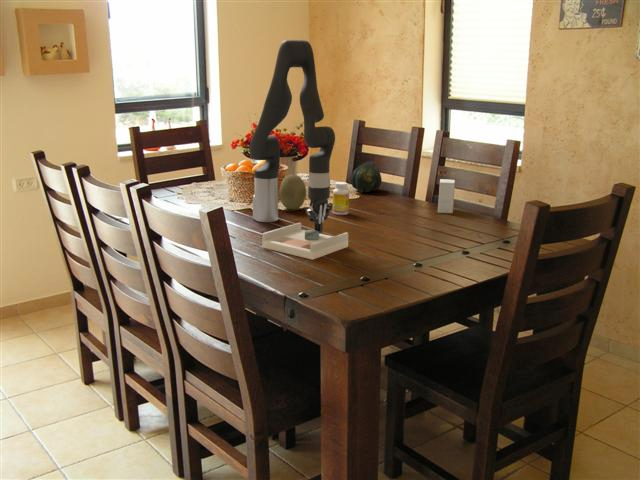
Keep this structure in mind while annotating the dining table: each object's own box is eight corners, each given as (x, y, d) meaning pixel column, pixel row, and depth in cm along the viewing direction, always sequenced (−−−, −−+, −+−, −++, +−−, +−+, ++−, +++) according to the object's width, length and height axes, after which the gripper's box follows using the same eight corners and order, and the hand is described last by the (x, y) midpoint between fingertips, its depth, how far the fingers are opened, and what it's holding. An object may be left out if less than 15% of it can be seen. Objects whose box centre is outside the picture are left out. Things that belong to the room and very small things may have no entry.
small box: (452, 213, 298) (455, 183, 295) (437, 212, 299) (439, 182, 296) (453, 209, 306) (455, 179, 302) (438, 208, 307) (440, 178, 303)
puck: (301, 238, 248) (301, 231, 247) (310, 235, 252) (310, 229, 251) (313, 241, 245) (313, 234, 244) (321, 238, 249) (322, 231, 248)
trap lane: (262, 247, 246) (262, 233, 244) (299, 235, 261) (299, 222, 260) (312, 259, 233) (312, 244, 232) (348, 246, 248) (348, 232, 247)
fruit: (311, 208, 303) (311, 173, 299) (296, 213, 294) (296, 177, 290) (289, 204, 309) (289, 170, 305) (273, 209, 300) (273, 174, 296)
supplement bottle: (347, 215, 292) (347, 185, 288) (331, 214, 293) (331, 184, 289) (349, 212, 298) (350, 181, 294) (334, 211, 299) (334, 181, 296)
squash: (343, 181, 333) (365, 158, 329) (347, 177, 348) (368, 155, 343) (365, 202, 334) (387, 180, 330) (368, 197, 348) (389, 175, 344)
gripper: (322, 180, 254) (321, 227, 259) (298, 186, 244) (298, 235, 249) (339, 183, 250) (338, 231, 254) (316, 189, 239) (315, 238, 244)
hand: (318, 233), depth 251 cm, fingers closed
